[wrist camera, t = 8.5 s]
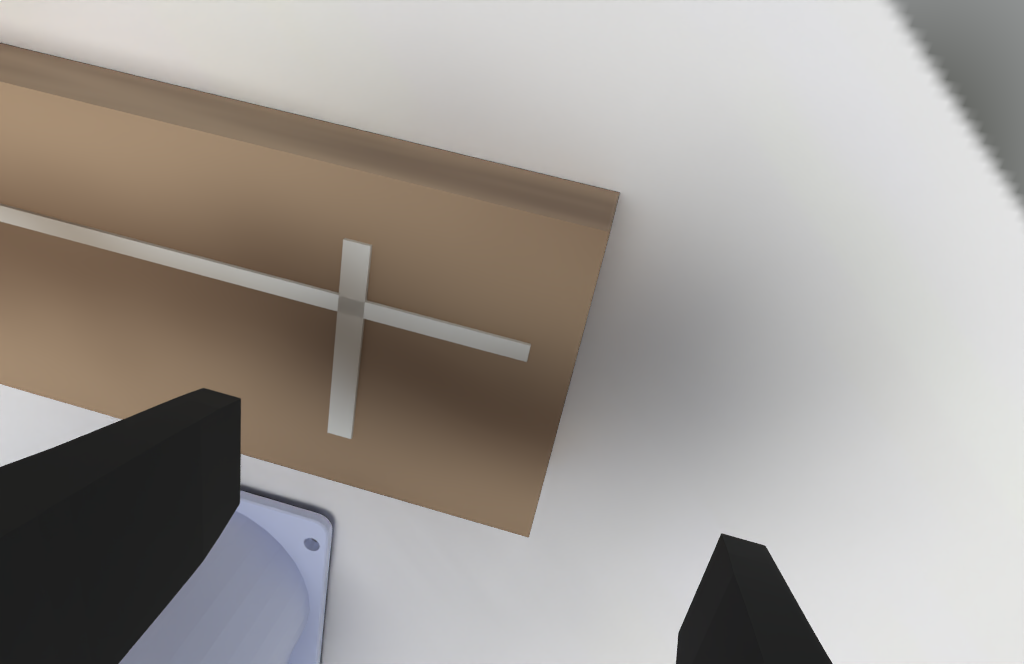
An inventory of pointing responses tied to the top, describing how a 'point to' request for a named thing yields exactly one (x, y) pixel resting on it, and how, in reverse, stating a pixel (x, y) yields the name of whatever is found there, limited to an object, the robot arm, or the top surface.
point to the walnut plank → (293, 283)
